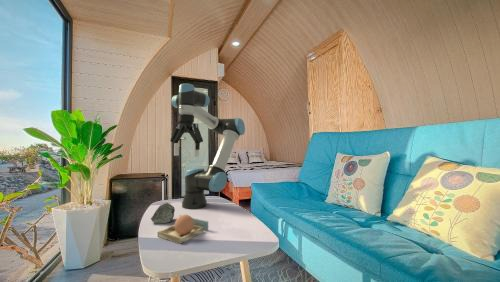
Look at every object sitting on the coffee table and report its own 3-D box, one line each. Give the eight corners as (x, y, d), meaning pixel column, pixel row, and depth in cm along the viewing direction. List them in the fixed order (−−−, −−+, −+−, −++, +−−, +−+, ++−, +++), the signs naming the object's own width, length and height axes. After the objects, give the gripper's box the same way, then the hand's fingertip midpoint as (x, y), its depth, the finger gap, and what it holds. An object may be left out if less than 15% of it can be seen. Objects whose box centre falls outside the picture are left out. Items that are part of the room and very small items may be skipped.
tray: (181, 226, 103) (181, 221, 103) (203, 231, 97) (203, 227, 97) (157, 236, 92) (157, 231, 92) (180, 243, 85) (180, 238, 85)
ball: (182, 222, 100) (188, 208, 98) (193, 234, 96) (200, 220, 94) (168, 229, 93) (174, 214, 91) (180, 241, 89) (186, 226, 87)
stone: (160, 203, 105) (171, 198, 115) (146, 216, 106) (158, 209, 116) (172, 219, 104) (182, 212, 114) (157, 231, 105) (169, 224, 115)
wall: (180, 223, 107) (180, 215, 107) (208, 230, 99) (208, 221, 99) (179, 224, 106) (179, 215, 106) (206, 231, 98) (206, 222, 98)
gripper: (163, 114, 115) (163, 155, 114) (200, 112, 103) (199, 157, 103) (174, 116, 121) (174, 154, 121) (210, 114, 109) (210, 156, 109)
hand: (186, 156), depth 112 cm, fingers open, 13 cm apart
